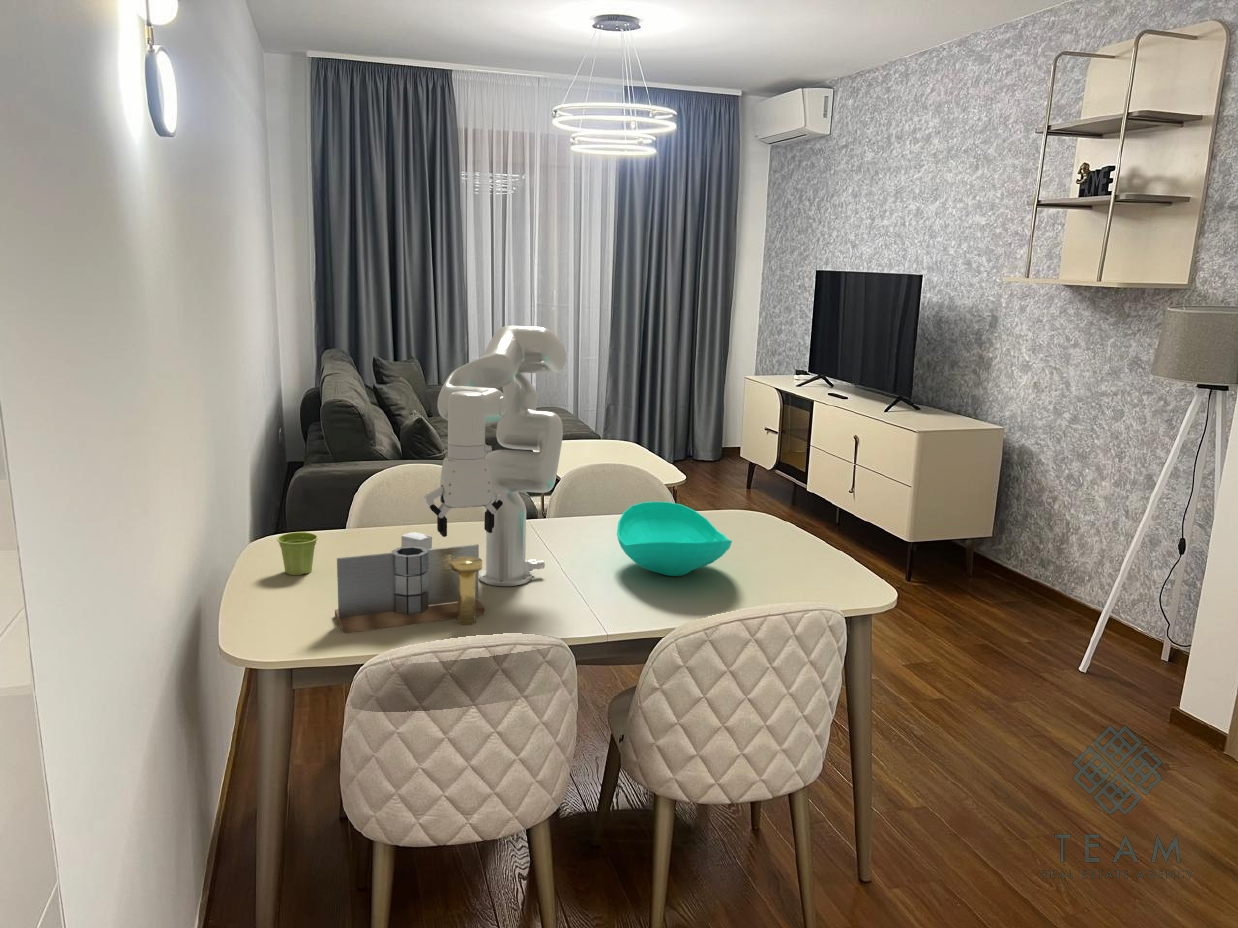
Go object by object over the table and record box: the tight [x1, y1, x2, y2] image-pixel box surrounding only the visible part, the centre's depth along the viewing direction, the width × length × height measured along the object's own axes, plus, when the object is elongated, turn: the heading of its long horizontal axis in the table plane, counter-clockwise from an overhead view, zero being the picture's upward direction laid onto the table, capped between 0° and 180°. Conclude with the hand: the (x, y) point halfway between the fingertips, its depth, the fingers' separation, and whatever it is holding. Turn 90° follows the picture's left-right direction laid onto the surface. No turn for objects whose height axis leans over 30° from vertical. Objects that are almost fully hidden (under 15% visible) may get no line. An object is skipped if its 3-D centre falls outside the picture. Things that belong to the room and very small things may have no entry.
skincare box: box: [401, 531, 433, 551], centre depth 221 cm, size 6×4×12 cm
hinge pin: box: [451, 557, 483, 626], centre depth 199 cm, size 6×6×14 cm
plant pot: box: [276, 531, 319, 576], centre depth 227 cm, size 9×9×9 cm
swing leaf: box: [394, 543, 480, 605], centre depth 203 cm, size 19×7×12 cm, turn 116°
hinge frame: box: [336, 546, 429, 618], centre depth 199 cm, size 19×7×13 cm, turn 116°
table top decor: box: [616, 501, 733, 577], centre depth 237 cm, size 40×28×13 cm
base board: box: [334, 599, 486, 634], centre depth 202 cm, size 30×10×2 cm, turn 116°
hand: (466, 533), depth 195 cm, fingers open, 9 cm apart
